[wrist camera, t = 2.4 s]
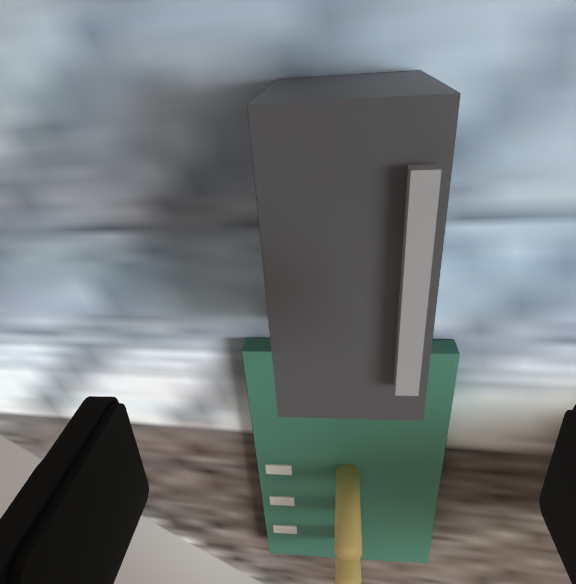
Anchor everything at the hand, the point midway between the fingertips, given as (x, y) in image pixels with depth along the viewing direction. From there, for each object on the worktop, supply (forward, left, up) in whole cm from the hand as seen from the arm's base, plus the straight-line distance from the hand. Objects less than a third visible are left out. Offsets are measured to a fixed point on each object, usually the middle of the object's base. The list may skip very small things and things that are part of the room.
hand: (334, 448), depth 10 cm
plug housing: (-1, 0, -13) cm, 13 cm away
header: (+15, 0, -13) cm, 20 cm away
